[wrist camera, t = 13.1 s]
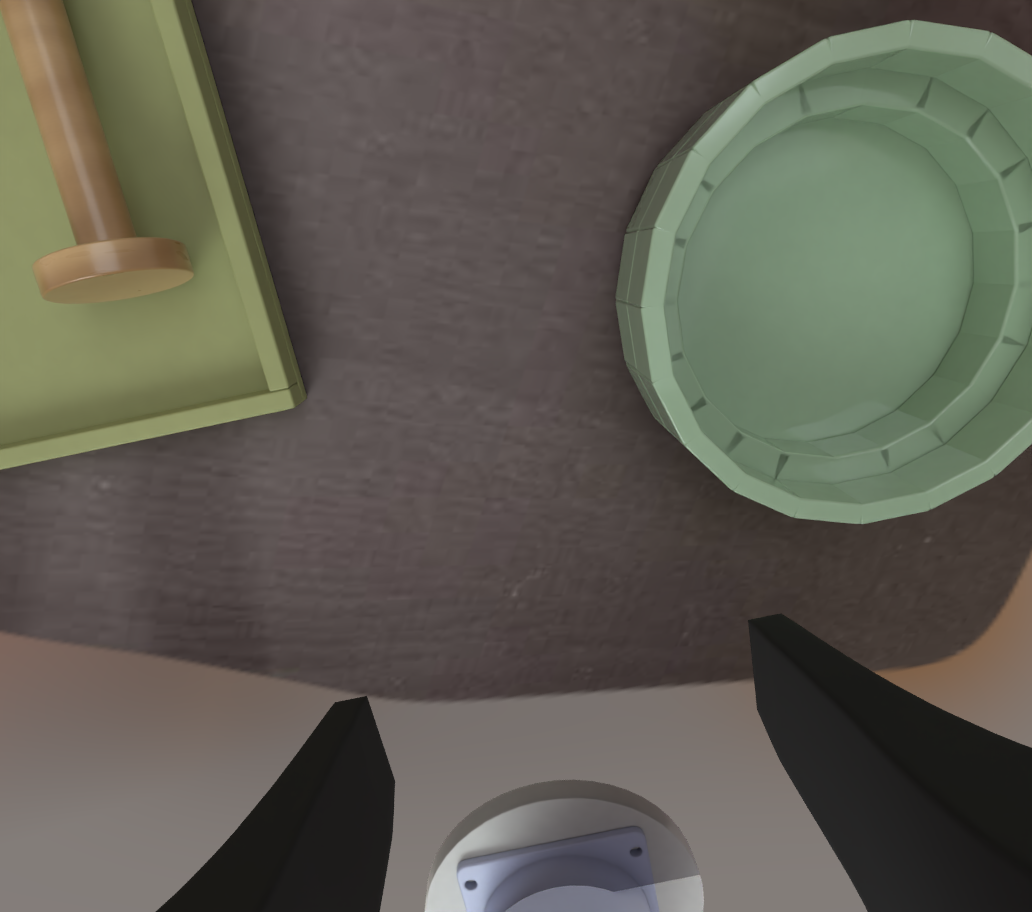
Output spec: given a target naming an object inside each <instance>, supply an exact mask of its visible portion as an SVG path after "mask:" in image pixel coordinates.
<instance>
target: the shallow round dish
mask: <svg viewBox="0 0 1032 912" xmlns="http://www.w3.org/2000/svg"><path fill="white" fill-rule="evenodd" d="M657 167H658V168H656V169H655V170H654V172H653V174H652V176H651V178H650V181H649V183H648V185H647V187H646V189H645V191H644V193H643V195H642V198H641V200H640V202H639V204H638V206H637V208H636V210H635V212H634V214H633V217H632V219H631V221H630V223H629V225H628V227H627V233H626V234H625V237H624V243H623V250H622V257H621V264H620V270H619V277H618V284H617V290H616V299H617V300H616V308H617V315H618V321H619V327H620V333H621V340H622V346H623V352H624V359H625V361H626V364H627V367H628V369H629V371H630V373H631V375H632V377H633V379H634V381H635V383H636V385H637V387H638V389H639V391H640V392H641V394H642V396H643V398H644V400H645V402H646V404H647V406H648V408H649V410H650V412H651V414H652V415H653V416H654V418H655V419H656V420H657V421H658V422H659V423H660V424H661V425H662V426H663V427H665V428H666V429H667V430H668V431H669V432H670V433H671V434H672V435H673V436H674V437H675V438H676V439H677V440H678V441H679V442H680V443H682V444H683V445H684V446H685V447H686V448H687V449H688V450H689V451H690V452H691V453H692V454H693V455H694V456H695V457H696V458H697V459H699V460H700V461H701V462H702V463H703V464H704V465H705V466H706V467H707V468H708V469H709V470H710V471H711V472H712V473H713V474H715V475H716V476H717V477H718V478H719V479H720V480H721V481H722V482H723V483H724V484H725V485H726V486H727V487H728V488H729V489H730V490H733V491H734V492H735V493H737V494H740V495H742V496H744V497H747V498H749V499H751V500H753V501H756V502H758V503H760V504H762V505H765V506H767V507H769V508H771V509H774V510H776V511H778V512H781V513H783V514H785V515H787V516H790V517H794V518H799V519H810V520H820V521H831V522H842V523H852V524H866V523H871V522H876V521H880V520H885V519H890V518H895V517H900V516H905V515H910V514H915V513H920V512H924V511H928V510H929V509H933V508H935V507H937V506H939V505H941V504H943V503H945V502H947V501H948V500H950V499H952V498H954V497H956V496H958V495H960V494H962V493H964V492H966V491H968V490H970V489H972V488H974V487H976V486H978V485H980V484H982V483H984V482H986V481H987V480H989V479H991V478H993V477H994V475H997V474H999V473H1000V472H1001V471H1002V470H1003V469H1004V468H1005V467H1006V466H1008V465H1009V464H1010V463H1011V462H1012V461H1013V460H1014V459H1015V458H1016V457H1018V456H1019V455H1020V454H1021V453H1022V452H1023V451H1024V450H1025V449H1026V448H1028V447H1029V446H1030V445H1031V444H1032V56H1031V55H1030V54H1028V53H1026V52H1025V51H1023V50H1021V49H1020V48H1018V47H1016V46H1015V45H1013V44H1011V43H1010V42H1008V41H1006V40H1005V39H1003V38H1001V37H999V36H998V35H996V34H994V33H990V32H989V31H986V30H979V29H972V28H966V27H959V26H952V25H946V24H939V23H932V22H926V21H919V20H904V21H899V22H895V23H890V24H885V25H881V26H876V27H871V28H867V29H862V30H857V31H853V32H848V33H843V34H839V35H834V36H830V37H828V38H827V39H823V40H821V41H819V42H818V43H816V44H814V45H813V46H811V47H809V48H807V49H806V50H804V51H802V52H801V53H799V54H797V55H796V56H794V57H792V58H791V59H789V60H787V61H786V62H784V63H782V64H781V65H779V66H777V67H775V68H774V69H772V70H770V71H769V72H767V73H765V74H764V75H762V76H760V77H759V78H757V79H755V80H754V81H752V82H751V83H749V84H748V85H746V86H744V87H743V88H741V89H740V90H738V91H737V92H735V93H734V94H732V95H731V96H729V97H728V98H726V99H725V100H723V101H722V102H720V103H719V104H717V105H716V106H714V107H713V108H711V109H710V110H708V111H707V112H706V113H705V114H703V115H702V116H701V117H700V119H699V120H698V121H697V122H696V123H695V124H694V125H693V126H692V127H691V129H690V130H689V131H688V132H687V133H686V134H685V135H684V136H683V137H682V139H681V140H680V141H679V142H678V143H677V144H676V145H675V146H674V147H673V149H672V150H671V151H670V152H669V153H668V154H667V155H666V156H665V157H664V159H663V160H662V161H661V162H660V163H659V164H658V166H657Z"/></svg>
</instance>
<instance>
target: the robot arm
mask: <svg viewBox="0 0 1032 912" xmlns="http://www.w3.org/2000/svg"><path fill="white" fill-rule="evenodd" d="M748 623H749V633H750V643H751V653H752V663H753V673H754V683H755V691H756V703H757V710H758V712H759V715H760V717H761V719H762V722H763V724H764V726H765V729H766V731H767V733H768V735H769V738H770V740H771V742H772V744H773V747H774V749H775V751H776V753H777V755H778V757H779V759H780V761H781V763H782V765H783V767H784V768H785V770H786V772H787V774H788V775H789V777H790V779H791V780H792V782H793V783H794V785H795V787H796V789H797V790H798V792H799V794H800V795H801V797H802V799H803V801H804V802H805V804H806V806H807V807H808V809H809V810H810V812H811V814H812V815H813V817H814V819H815V820H816V822H817V824H818V825H819V827H820V829H821V830H822V832H823V834H824V835H825V837H826V839H827V840H828V842H829V844H830V845H831V847H832V849H833V850H834V852H835V854H836V855H837V857H838V859H839V860H840V862H841V864H842V865H843V867H844V869H845V870H846V872H847V874H848V875H849V877H850V879H851V881H852V883H853V884H854V886H855V888H856V890H857V892H858V894H859V896H860V897H861V899H862V901H863V903H864V905H865V906H866V909H867V911H868V912H1032V748H1030V747H1028V746H1025V745H1022V744H1020V743H1017V742H1015V741H1012V740H1010V739H1007V738H1005V737H1002V736H1000V735H997V734H995V733H993V732H990V731H988V730H986V729H984V728H982V727H979V726H977V725H975V724H973V723H970V722H968V721H966V720H964V719H962V718H959V717H957V716H955V715H953V714H951V713H948V712H946V711H944V710H942V709H940V708H938V707H936V706H934V705H932V704H930V703H928V702H926V701H924V700H923V699H921V698H919V697H917V696H915V695H913V694H911V693H910V692H907V691H906V690H904V689H902V688H900V687H898V686H896V685H895V684H893V683H891V682H889V681H888V680H886V679H884V678H882V677H881V676H879V675H877V674H875V673H874V672H872V671H870V670H869V669H867V668H865V667H864V666H862V665H860V664H859V663H857V662H855V661H854V660H852V659H851V658H849V657H847V656H846V655H844V654H843V653H841V652H839V651H838V650H836V649H835V648H833V647H832V646H830V645H829V644H827V643H825V642H824V641H822V640H821V639H819V638H818V637H816V636H815V635H813V634H812V633H810V632H809V631H807V630H806V629H804V628H803V627H801V626H800V625H798V624H796V623H795V622H793V621H792V620H790V619H789V618H787V617H786V616H784V615H782V614H777V615H771V616H766V617H761V618H756V619H751V620H748ZM394 788H395V780H394V777H393V774H392V771H391V768H390V764H389V762H388V759H387V755H386V752H385V749H384V747H383V744H382V741H381V738H380V734H379V731H378V728H377V725H376V722H375V719H374V716H373V713H372V710H371V707H370V705H369V701H368V698H367V696H365V697H360V698H355V699H350V700H345V701H340V702H335V703H334V704H333V706H332V707H331V708H330V710H329V711H328V712H327V714H326V715H325V716H324V718H323V719H322V720H321V722H320V723H319V725H318V726H317V727H316V729H315V730H314V731H313V733H312V734H311V736H310V737H309V738H308V739H307V741H306V742H305V744H304V745H303V746H302V748H301V749H300V751H299V752H298V753H297V754H296V756H295V757H294V758H293V760H292V761H291V762H290V764H289V765H288V766H287V768H286V769H285V770H284V772H283V773H282V774H281V776H280V777H279V778H278V779H277V781H276V782H275V784H274V785H273V786H272V787H271V789H270V790H269V791H268V792H267V793H266V795H265V796H264V797H263V798H262V799H261V801H260V802H259V803H258V804H257V805H256V807H255V808H254V809H253V810H252V811H251V813H250V814H249V815H248V816H247V817H246V819H245V820H244V821H243V822H242V823H241V825H240V826H239V827H238V829H237V830H236V831H235V832H234V833H233V834H232V835H231V836H230V838H229V839H228V840H227V841H226V842H225V843H224V844H223V845H222V847H221V848H220V849H219V850H218V851H217V852H216V853H215V854H214V855H213V856H212V857H211V858H210V859H209V860H208V862H207V863H205V865H204V866H203V867H202V868H201V869H200V870H199V871H198V872H197V873H196V874H195V875H194V876H193V877H192V878H191V879H190V880H189V881H188V882H187V883H186V884H185V885H184V886H183V887H182V888H181V889H180V890H179V891H178V892H177V893H176V894H175V895H174V896H172V898H170V899H169V900H168V901H167V902H166V903H165V904H164V905H163V906H162V907H161V908H159V909H158V910H157V911H156V912H380V906H381V901H382V895H383V889H384V883H385V877H386V871H387V865H388V859H389V853H390V846H391V841H392V832H393V816H394V792H395V791H394V790H395V789H394ZM634 847H639V848H637V849H632V848H634ZM457 880H458V883H459V887H460V890H461V894H462V897H463V901H464V904H465V908H466V911H467V912H659V906H658V901H657V895H656V890H655V885H654V879H653V874H652V869H651V863H650V858H649V853H648V847H647V842H646V837H645V834H644V832H643V830H642V829H641V828H640V827H637V826H630V827H625V828H620V829H615V830H610V831H605V832H600V833H595V834H590V835H585V836H580V837H575V838H570V839H565V840H560V841H555V842H550V843H545V844H540V845H535V846H530V847H525V848H520V849H515V850H510V851H505V852H500V853H495V854H490V855H485V856H480V857H475V858H470V859H465V860H463V861H461V862H460V863H459V864H458V866H457ZM468 880H474V881H473V882H469V881H468Z"/></svg>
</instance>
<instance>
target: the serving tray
mask: <svg viewBox="0 0 1032 912" xmlns="http://www.w3.org/2000/svg"><path fill="white" fill-rule="evenodd" d="M63 3H64V6H65V9H66V13H67V16H68V19H69V22H70V25H71V29H72V32H73V35H74V38H75V41H76V45H77V48H78V51H79V54H80V57H81V60H82V64H83V67H84V70H85V73H86V76H87V80H88V83H89V86H90V89H91V92H92V96H93V99H94V102H95V105H96V108H97V112H98V115H99V118H100V121H101V124H102V127H103V131H104V134H105V137H106V140H107V143H108V147H109V150H110V153H111V156H112V159H113V163H114V166H115V169H116V172H117V175H118V179H119V182H120V185H121V188H122V191H123V194H124V198H125V201H126V204H127V207H128V210H129V214H130V217H131V220H132V223H133V226H134V230H135V233H136V236H137V237H159V238H168V239H174V240H177V241H180V242H182V243H184V244H185V246H186V248H187V251H188V254H189V257H190V261H191V264H192V267H193V271H194V276H193V278H192V279H190V280H189V281H187V282H185V283H183V284H181V285H179V286H176V287H174V288H171V289H167V290H164V291H161V292H157V293H153V294H148V295H144V296H139V297H134V298H128V299H122V300H115V301H107V302H98V303H85V304H62V303H54V302H49V301H46V300H44V299H43V298H42V296H41V294H40V291H39V288H38V285H37V282H36V279H35V276H34V273H33V270H32V265H33V263H34V262H35V261H36V260H37V259H39V258H41V257H43V256H45V255H47V254H49V253H52V252H55V251H57V250H61V249H64V248H67V247H71V246H75V245H77V244H76V241H75V238H74V235H73V232H72V229H71V226H70V223H69V220H68V217H67V213H66V210H65V207H64V204H63V201H62V198H61V195H60V192H59V189H58V186H57V183H56V180H55V177H54V174H53V171H52V168H51V164H50V161H49V158H48V155H47V152H46V149H45V146H44V143H43V140H42V137H41V134H40V131H39V128H38V125H37V122H36V119H35V115H34V112H33V109H32V106H31V103H30V100H29V97H28V94H27V91H26V88H25V85H24V82H23V79H22V76H21V73H20V70H19V66H18V63H17V60H16V57H15V54H14V51H13V48H12V45H11V42H10V39H9V36H8V33H7V30H6V27H5V24H4V21H3V17H2V14H1V11H0V470H2V469H6V468H11V467H16V466H21V465H25V464H30V463H35V462H40V461H45V460H49V459H54V458H59V457H64V456H68V455H73V454H78V453H83V452H87V451H92V450H97V449H102V448H107V447H111V446H116V445H121V444H126V443H130V442H135V441H140V440H145V439H150V438H154V437H159V436H164V435H169V434H173V433H178V432H183V431H188V430H193V429H197V428H202V427H207V426H212V425H216V424H221V423H226V422H231V421H236V420H240V419H245V418H250V417H255V416H259V415H264V414H269V413H274V412H279V411H283V410H288V409H293V408H295V407H296V406H297V405H299V404H300V403H301V402H303V401H304V400H305V399H307V395H306V392H305V388H304V385H303V381H302V378H301V375H300V371H299V368H298V364H297V361H296V358H295V354H294V351H293V347H292V344H291V340H290V337H289V334H288V330H287V327H286V323H285V320H284V316H283V313H282V310H281V306H280V303H279V299H278V296H277V293H276V289H275V286H274V282H273V279H272V275H271V272H270V269H269V265H268V262H267V258H266V255H265V252H264V248H263V245H262V241H261V238H260V234H259V231H258V228H257V224H256V221H255V217H254V214H253V211H252V207H251V204H250V200H249V197H248V193H247V190H246V187H245V183H244V180H243V176H242V173H241V170H240V166H239V163H238V159H237V156H236V152H235V149H234V146H233V142H232V139H231V135H230V132H229V129H228V125H227V122H226V118H225V115H224V111H223V108H222V105H221V101H220V98H219V94H218V91H217V87H216V84H215V81H214V77H213V74H212V70H211V67H210V64H209V60H208V57H207V53H206V50H205V46H204V43H203V40H202V36H201V33H200V29H199V26H198V23H197V19H196V16H195V12H194V9H193V5H192V2H191V0H63Z"/></svg>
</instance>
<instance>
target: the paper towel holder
mask: <svg viewBox="0 0 1032 912" xmlns="http://www.w3.org/2000/svg"><path fill="white" fill-rule="evenodd" d="M0 11H1V14H2V17H3V21H4V24H5V27H6V30H7V33H8V36H9V39H10V42H11V45H12V48H13V51H14V54H15V57H16V60H17V63H18V66H19V70H20V73H21V76H22V79H23V82H24V85H25V88H26V91H27V94H28V97H29V100H30V103H31V106H32V109H33V112H34V115H35V119H36V122H37V125H38V128H39V131H40V134H41V137H42V140H43V143H44V146H45V149H46V152H47V155H48V158H49V161H50V164H51V168H52V171H53V174H54V177H55V180H56V183H57V186H58V189H59V192H60V195H61V198H62V201H63V204H64V207H65V210H66V213H67V217H68V220H69V223H70V226H71V229H72V232H73V235H74V238H75V241H76V244H77V245H75V246H71V247H67V248H64V249H61V250H57V251H55V252H52V253H49V254H47V255H45V256H43V257H41V258H39V259H37V260H36V261H35V262H34V263H33V265H32V270H33V273H34V276H35V279H36V282H37V285H38V288H39V291H40V294H41V296H42V298H43V299H44V300H46V301H49V302H54V303H62V304H85V303H98V302H107V301H115V300H122V299H128V298H134V297H139V296H144V295H148V294H153V293H157V292H161V291H164V290H167V289H171V288H174V287H176V286H179V285H181V284H183V283H185V282H187V281H189V280H190V279H192V278H193V276H194V271H193V267H192V264H191V261H190V257H189V254H188V251H187V248H186V246H185V244H184V243H182V242H180V241H177V240H174V239H168V238H159V237H137V236H136V233H135V230H134V226H133V223H132V220H131V217H130V214H129V210H128V207H127V204H126V201H125V198H124V194H123V191H122V188H121V185H120V182H119V179H118V175H117V172H116V169H115V166H114V163H113V159H112V156H111V153H110V150H109V147H108V143H107V140H106V137H105V134H104V131H103V127H102V124H101V121H100V118H99V115H98V112H97V108H96V105H95V102H94V99H93V96H92V92H91V89H90V86H89V83H88V80H87V76H86V73H85V70H84V67H83V64H82V60H81V57H80V54H79V51H78V48H77V45H76V41H75V38H74V35H73V32H72V29H71V25H70V22H69V19H68V16H67V13H66V9H65V6H64V3H63V0H0Z"/></svg>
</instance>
